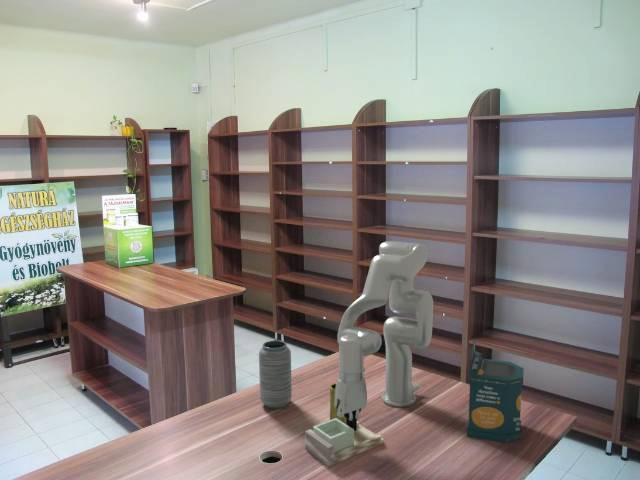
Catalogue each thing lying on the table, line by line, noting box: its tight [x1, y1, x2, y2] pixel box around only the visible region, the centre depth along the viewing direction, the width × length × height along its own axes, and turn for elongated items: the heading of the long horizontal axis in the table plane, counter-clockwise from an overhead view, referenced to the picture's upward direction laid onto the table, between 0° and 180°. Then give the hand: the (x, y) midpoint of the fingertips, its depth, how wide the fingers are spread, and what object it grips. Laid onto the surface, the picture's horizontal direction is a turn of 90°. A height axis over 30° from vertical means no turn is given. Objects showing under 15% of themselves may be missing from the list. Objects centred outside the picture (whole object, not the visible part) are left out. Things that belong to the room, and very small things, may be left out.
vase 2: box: [329, 382, 346, 424], centre depth 181 cm, size 6×6×14 cm
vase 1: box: [258, 340, 293, 410], centre depth 197 cm, size 12×12×23 cm
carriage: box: [312, 418, 354, 454], centre depth 167 cm, size 9×9×6 cm
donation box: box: [466, 338, 525, 444], centre depth 177 cm, size 16×16×28 cm
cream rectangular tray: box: [304, 420, 385, 467], centre depth 170 cm, size 22×12×6 cm, turn 126°
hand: (351, 429), depth 171 cm, fingers closed
